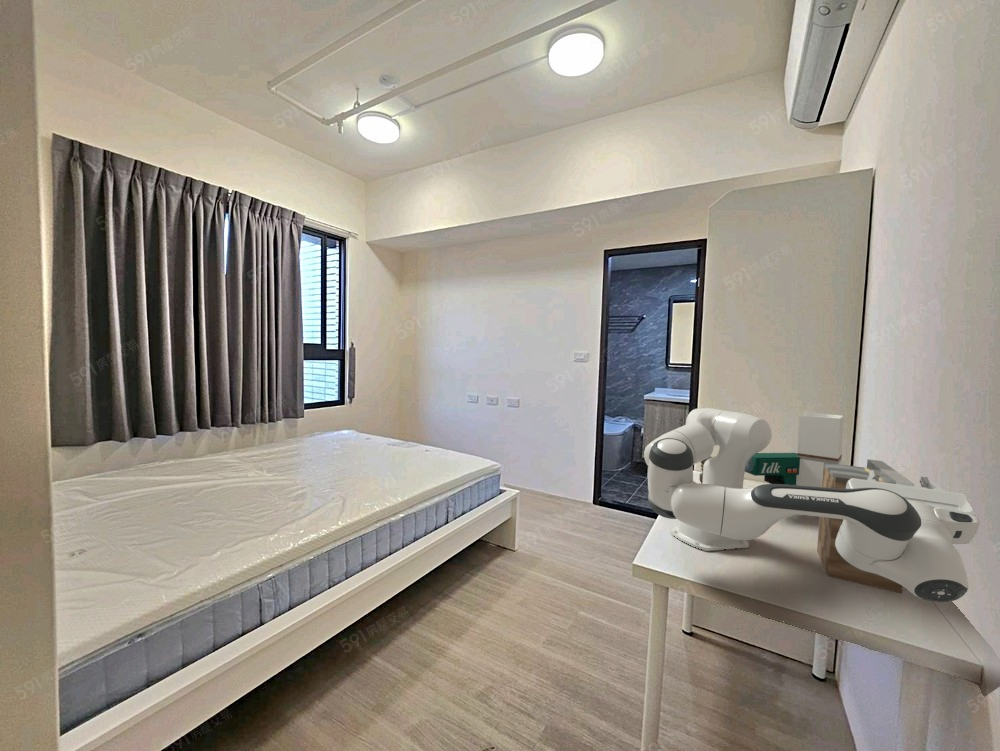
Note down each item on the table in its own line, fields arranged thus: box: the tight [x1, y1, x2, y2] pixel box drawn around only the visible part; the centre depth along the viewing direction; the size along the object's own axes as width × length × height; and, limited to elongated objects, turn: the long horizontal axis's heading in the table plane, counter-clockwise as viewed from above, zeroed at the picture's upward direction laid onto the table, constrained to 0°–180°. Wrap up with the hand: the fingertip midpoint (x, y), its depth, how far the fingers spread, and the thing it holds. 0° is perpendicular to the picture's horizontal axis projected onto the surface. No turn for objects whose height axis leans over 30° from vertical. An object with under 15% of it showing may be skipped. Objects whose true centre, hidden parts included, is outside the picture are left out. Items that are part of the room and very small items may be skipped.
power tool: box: [745, 452, 800, 485], centre depth 150 cm, size 32×7×20 cm, turn 98°
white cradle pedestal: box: [796, 412, 845, 487], centre depth 148 cm, size 11×11×35 cm
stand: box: [816, 463, 903, 594], centre depth 108 cm, size 16×14×26 cm
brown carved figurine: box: [699, 455, 713, 484], centre depth 167 cm, size 6×6×15 cm
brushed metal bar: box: [866, 459, 916, 487], centre depth 101 cm, size 23×3×2 cm, turn 150°
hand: (898, 475), depth 94 cm, fingers open, 7 cm apart
